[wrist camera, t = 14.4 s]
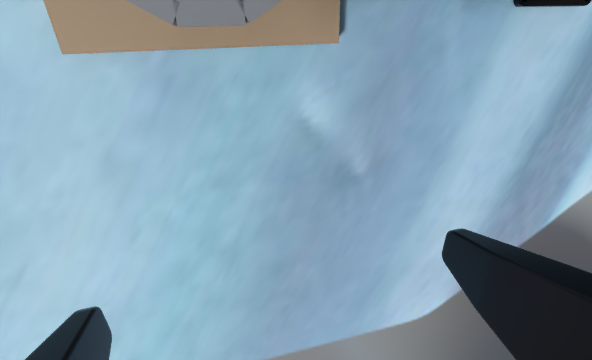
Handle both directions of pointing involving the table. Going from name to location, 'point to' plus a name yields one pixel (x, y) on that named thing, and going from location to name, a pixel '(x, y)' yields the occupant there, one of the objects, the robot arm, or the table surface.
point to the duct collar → (190, 24)
